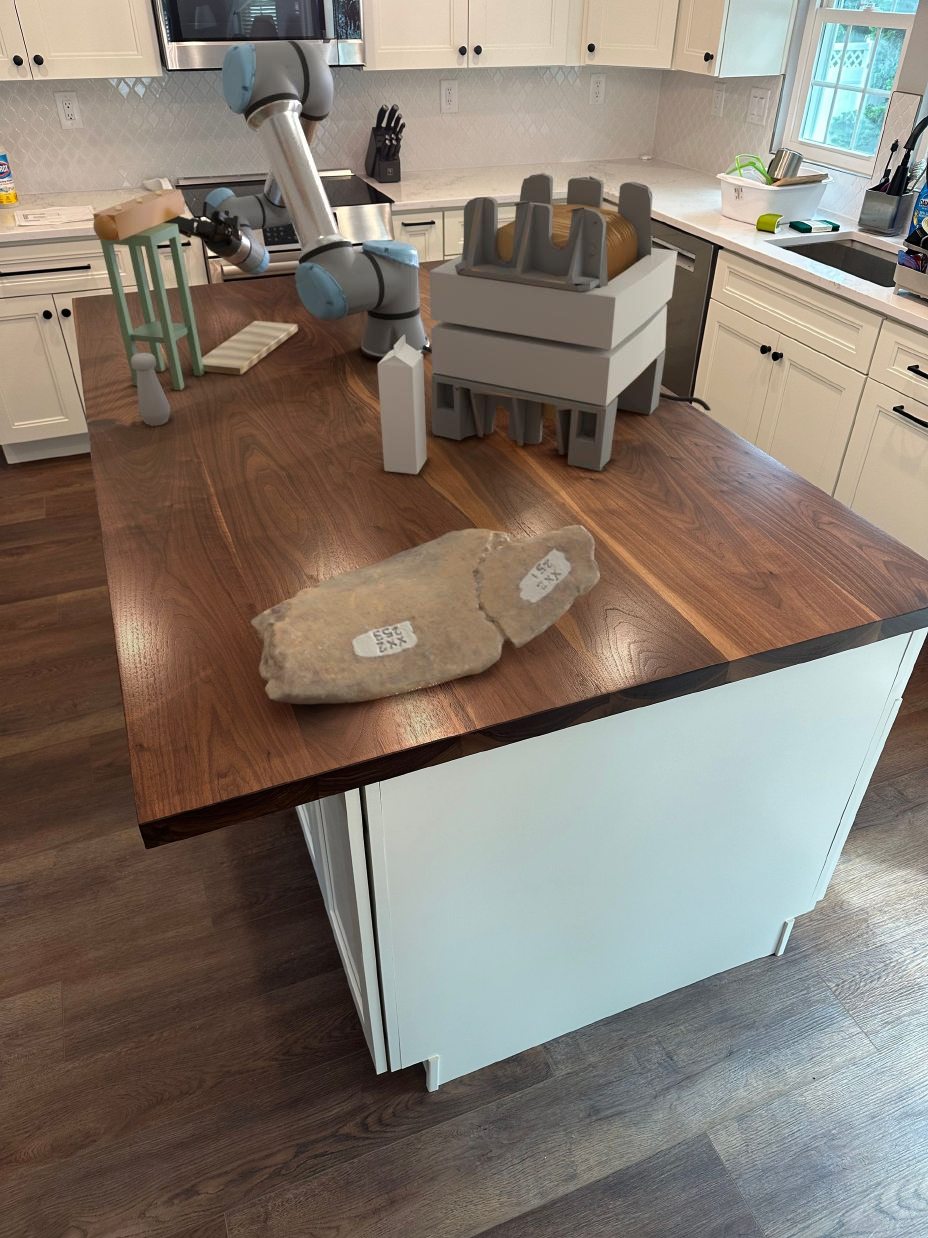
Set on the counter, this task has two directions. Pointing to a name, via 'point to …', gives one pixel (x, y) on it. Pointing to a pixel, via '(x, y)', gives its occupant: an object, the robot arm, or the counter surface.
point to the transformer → (551, 318)
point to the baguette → (138, 214)
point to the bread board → (247, 347)
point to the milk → (402, 409)
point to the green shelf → (154, 329)
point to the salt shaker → (150, 391)
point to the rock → (421, 615)
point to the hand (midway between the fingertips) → (174, 206)
